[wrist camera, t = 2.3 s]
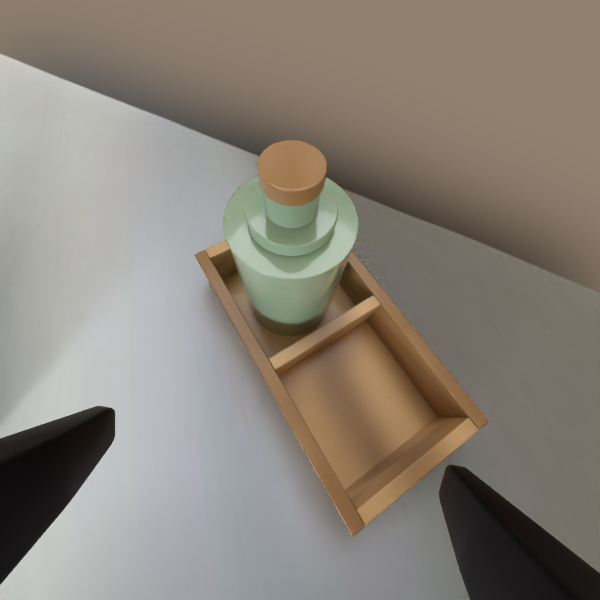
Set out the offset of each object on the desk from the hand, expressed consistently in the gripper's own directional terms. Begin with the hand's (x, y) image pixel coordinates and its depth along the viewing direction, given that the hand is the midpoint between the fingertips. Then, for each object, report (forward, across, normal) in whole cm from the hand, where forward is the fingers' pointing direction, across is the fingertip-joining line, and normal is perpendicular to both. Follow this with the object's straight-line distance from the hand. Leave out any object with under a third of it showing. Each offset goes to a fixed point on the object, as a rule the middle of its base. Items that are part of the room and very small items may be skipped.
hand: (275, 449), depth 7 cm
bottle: (+15, +1, -1) cm, 15 cm away
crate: (+14, -2, +2) cm, 14 cm away
